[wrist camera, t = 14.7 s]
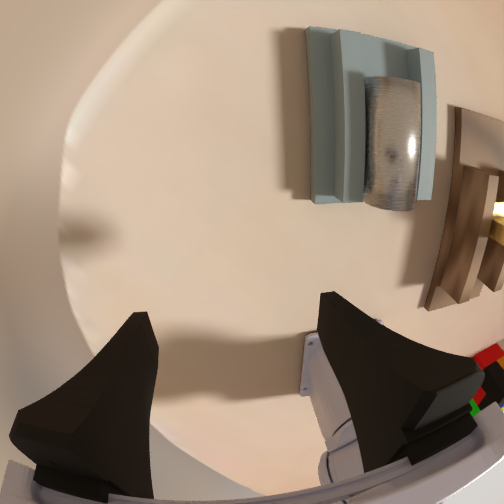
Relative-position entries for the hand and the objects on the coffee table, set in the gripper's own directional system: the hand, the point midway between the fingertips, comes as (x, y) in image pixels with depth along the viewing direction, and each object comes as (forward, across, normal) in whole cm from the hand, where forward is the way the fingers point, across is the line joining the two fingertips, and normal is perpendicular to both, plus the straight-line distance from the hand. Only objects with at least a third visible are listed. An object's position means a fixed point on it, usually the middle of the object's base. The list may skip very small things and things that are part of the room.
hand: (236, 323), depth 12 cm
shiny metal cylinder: (+8, -11, -6) cm, 15 cm away
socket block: (+9, -24, 0) cm, 26 cm away
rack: (+9, -11, -8) cm, 17 cm away
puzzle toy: (+10, -42, +29) cm, 52 cm away
